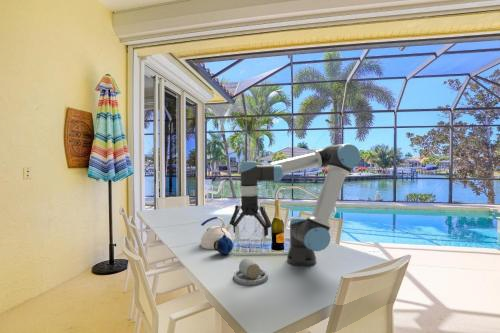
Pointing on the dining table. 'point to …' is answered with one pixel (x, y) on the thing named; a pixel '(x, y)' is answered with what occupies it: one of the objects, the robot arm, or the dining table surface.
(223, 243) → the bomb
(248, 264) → the ceramic mug
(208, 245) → the kettle
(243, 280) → the ring coaster
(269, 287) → the dining table surface
